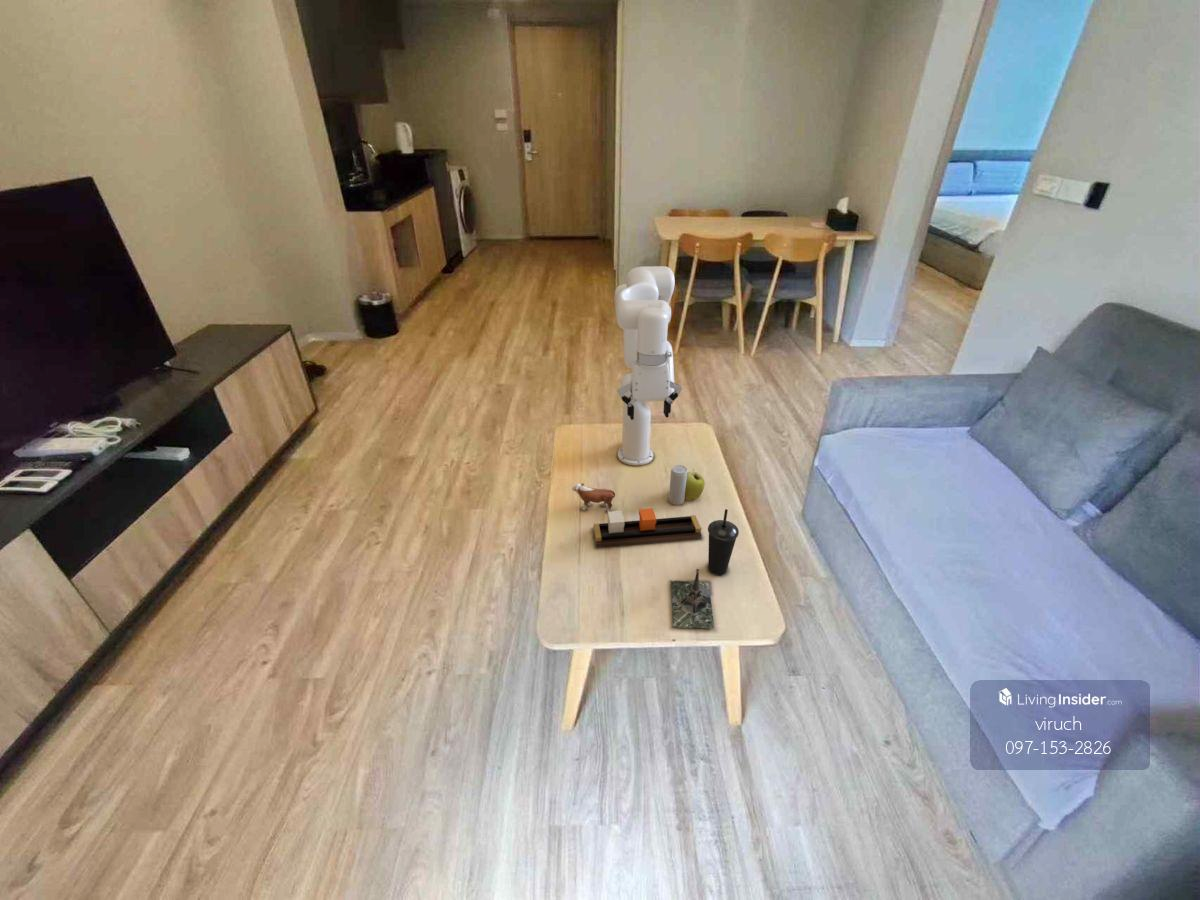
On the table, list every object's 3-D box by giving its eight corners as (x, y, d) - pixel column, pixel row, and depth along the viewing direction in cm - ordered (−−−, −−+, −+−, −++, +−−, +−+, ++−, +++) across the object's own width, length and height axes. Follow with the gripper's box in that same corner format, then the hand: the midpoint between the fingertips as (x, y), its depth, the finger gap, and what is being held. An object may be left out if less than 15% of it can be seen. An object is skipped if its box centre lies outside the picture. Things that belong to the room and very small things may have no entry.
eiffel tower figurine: (669, 581, 139) (672, 542, 132) (708, 582, 138) (714, 543, 131) (672, 628, 126) (676, 588, 119) (715, 630, 126) (722, 590, 118)
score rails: (593, 527, 154) (593, 523, 154) (695, 519, 157) (695, 515, 157) (596, 541, 149) (596, 537, 149) (700, 532, 152) (701, 528, 152)
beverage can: (683, 506, 165) (686, 474, 158) (667, 504, 166) (670, 472, 159) (684, 497, 169) (688, 465, 162) (669, 495, 170) (672, 463, 163)
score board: (593, 529, 156) (593, 525, 155) (693, 520, 159) (694, 516, 158) (596, 548, 149) (596, 544, 149) (701, 538, 152) (701, 534, 152)
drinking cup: (697, 563, 144) (704, 505, 133) (721, 555, 147) (730, 497, 136) (713, 582, 138) (722, 523, 127) (737, 574, 141) (748, 515, 130)
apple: (670, 493, 169) (679, 465, 165) (686, 490, 174) (695, 463, 170) (688, 506, 163) (698, 477, 160) (704, 502, 169) (714, 474, 165)
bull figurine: (573, 500, 168) (572, 479, 163) (615, 506, 165) (616, 484, 161) (570, 509, 164) (569, 488, 160) (613, 514, 162) (613, 493, 157)
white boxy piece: (607, 526, 154) (607, 511, 151) (621, 525, 155) (621, 510, 152) (610, 538, 150) (610, 523, 147) (624, 537, 151) (624, 521, 148)
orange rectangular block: (638, 524, 155) (639, 509, 152) (652, 523, 156) (652, 507, 153) (641, 535, 151) (642, 520, 148) (655, 534, 151) (656, 519, 148)
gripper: (680, 350, 142) (676, 408, 151) (615, 353, 140) (615, 412, 149) (687, 360, 136) (683, 420, 144) (620, 364, 134) (619, 425, 143)
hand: (648, 416), depth 147 cm, fingers open, 9 cm apart
